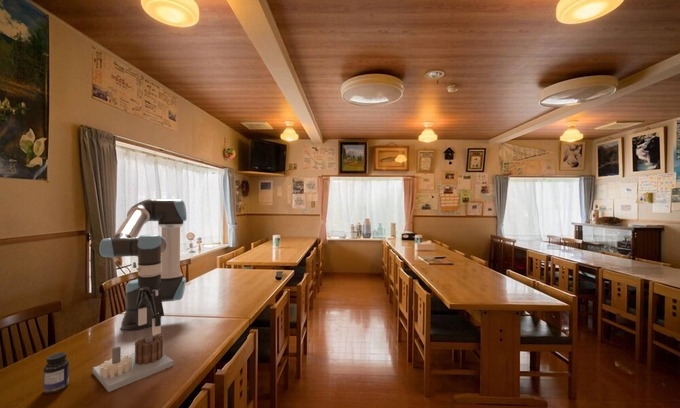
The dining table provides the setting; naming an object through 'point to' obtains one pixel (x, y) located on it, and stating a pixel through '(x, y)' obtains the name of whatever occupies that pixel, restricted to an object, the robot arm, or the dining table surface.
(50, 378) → the pill bottle
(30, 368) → the dining table surface
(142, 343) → the walnut gear
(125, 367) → the gear board
